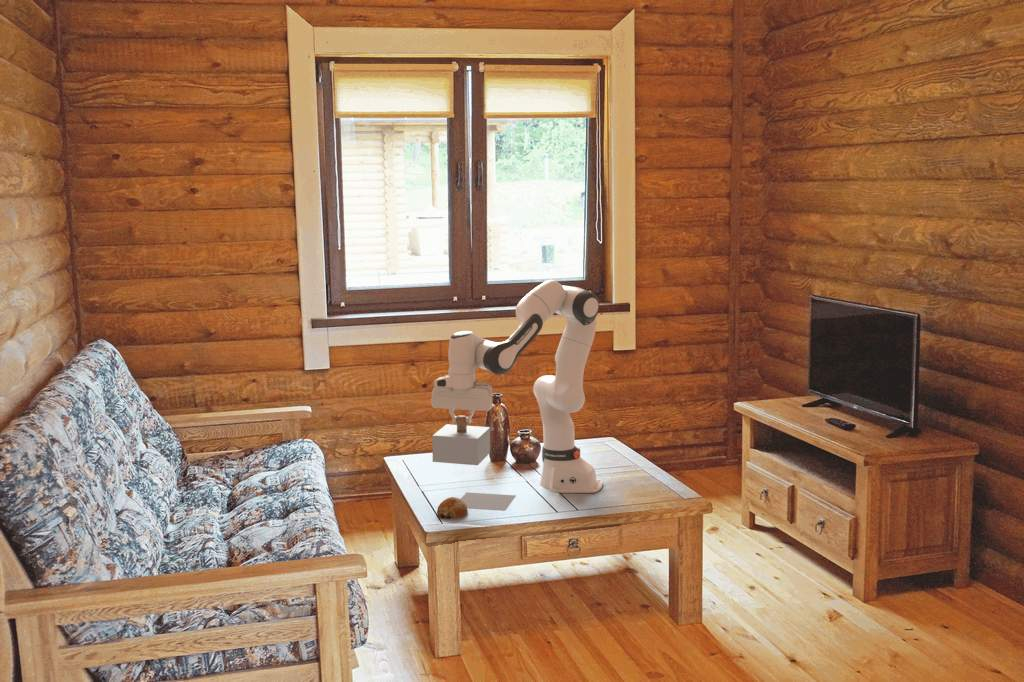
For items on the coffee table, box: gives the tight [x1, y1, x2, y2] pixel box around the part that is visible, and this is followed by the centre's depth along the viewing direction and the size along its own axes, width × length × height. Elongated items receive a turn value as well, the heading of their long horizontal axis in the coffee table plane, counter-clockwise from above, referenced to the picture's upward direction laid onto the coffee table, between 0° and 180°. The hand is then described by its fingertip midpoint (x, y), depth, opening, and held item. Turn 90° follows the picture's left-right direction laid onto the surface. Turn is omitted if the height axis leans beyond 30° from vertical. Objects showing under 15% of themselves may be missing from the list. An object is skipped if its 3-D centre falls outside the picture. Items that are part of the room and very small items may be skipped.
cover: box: [431, 414, 491, 466], centre depth 338 cm, size 15×15×14 cm
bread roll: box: [436, 496, 469, 520], centre depth 338 cm, size 10×10×8 cm
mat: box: [460, 492, 517, 512], centre depth 350 cm, size 18×16×1 cm
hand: (461, 422), depth 337 cm, fingers closed on cover, 3 cm apart
